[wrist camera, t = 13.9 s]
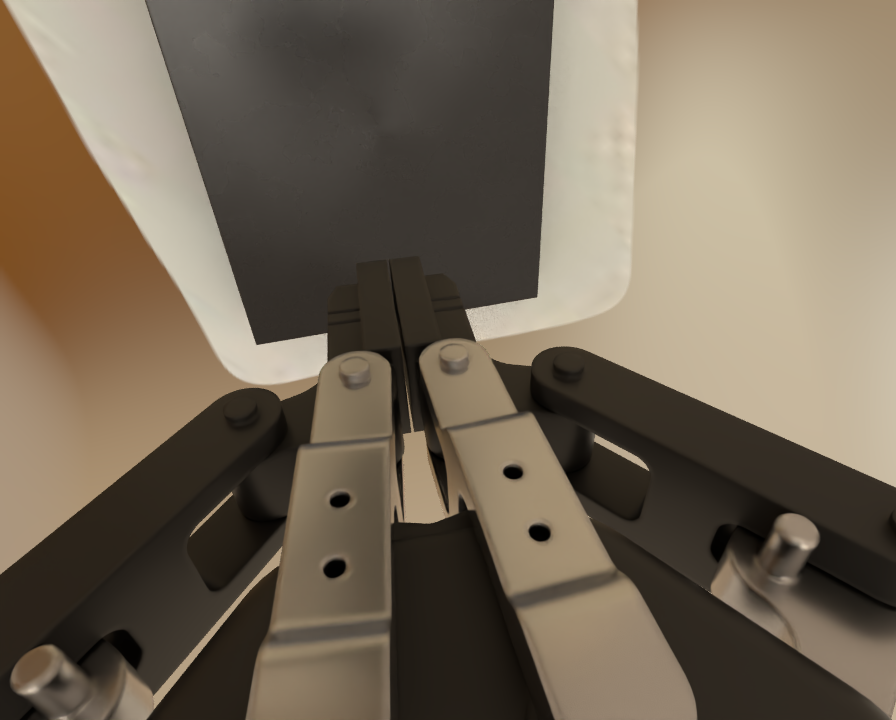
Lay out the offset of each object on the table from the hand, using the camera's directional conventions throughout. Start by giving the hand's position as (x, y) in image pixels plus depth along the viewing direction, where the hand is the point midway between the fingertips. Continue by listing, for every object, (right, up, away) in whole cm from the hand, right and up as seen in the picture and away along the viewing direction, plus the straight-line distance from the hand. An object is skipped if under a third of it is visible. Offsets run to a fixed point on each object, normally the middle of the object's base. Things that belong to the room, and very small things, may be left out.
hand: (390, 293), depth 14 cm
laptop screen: (-3, +12, +18) cm, 22 cm away
